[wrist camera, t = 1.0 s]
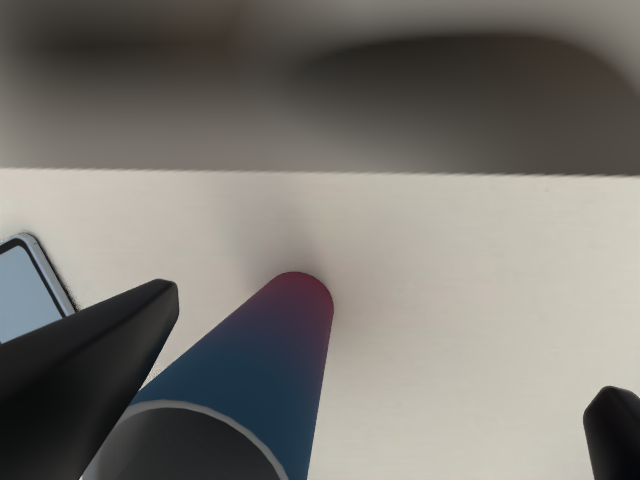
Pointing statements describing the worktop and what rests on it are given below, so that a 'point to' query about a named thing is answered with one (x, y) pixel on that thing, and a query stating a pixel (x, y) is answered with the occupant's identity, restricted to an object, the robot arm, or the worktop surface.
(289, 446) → the cup
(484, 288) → the worktop surface
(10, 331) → the smartphone
